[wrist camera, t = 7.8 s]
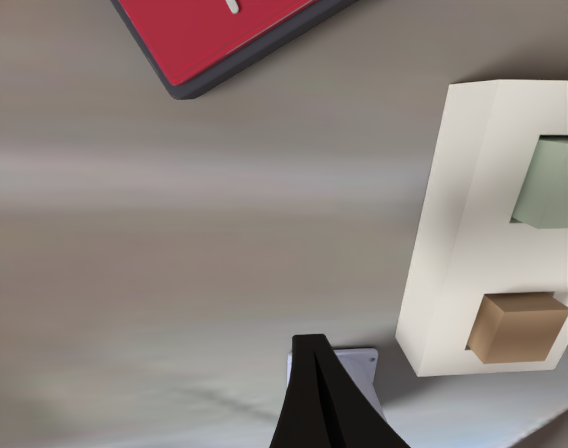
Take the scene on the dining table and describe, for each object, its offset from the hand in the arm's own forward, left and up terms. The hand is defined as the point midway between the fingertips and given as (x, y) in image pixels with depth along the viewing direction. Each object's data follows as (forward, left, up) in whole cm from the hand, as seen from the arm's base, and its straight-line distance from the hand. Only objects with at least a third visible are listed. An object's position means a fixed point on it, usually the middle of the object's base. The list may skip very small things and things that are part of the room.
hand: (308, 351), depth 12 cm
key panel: (+1, -15, -9) cm, 18 cm away
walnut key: (-4, -15, -7) cm, 17 cm away
